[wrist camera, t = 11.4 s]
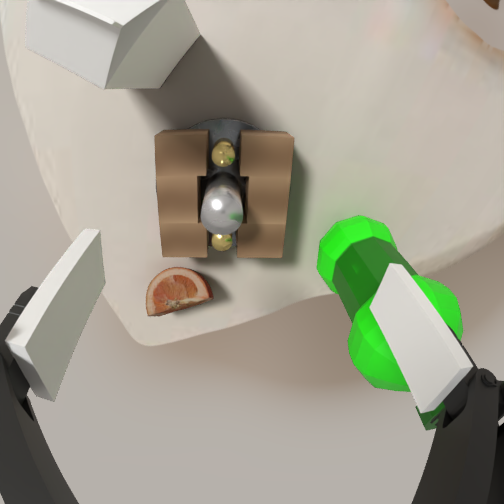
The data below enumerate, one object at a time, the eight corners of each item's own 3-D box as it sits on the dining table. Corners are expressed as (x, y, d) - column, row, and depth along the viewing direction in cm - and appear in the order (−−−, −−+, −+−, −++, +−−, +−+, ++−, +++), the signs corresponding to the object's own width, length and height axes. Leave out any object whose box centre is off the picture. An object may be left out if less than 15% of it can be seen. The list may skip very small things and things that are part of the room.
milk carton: (159, 89, 26) (70, 93, 10) (107, 59, 24) (-15, 46, 7) (201, 34, 24) (166, -40, 7) (146, 5, 21) (61, -70, 5)
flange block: (163, 130, 27) (154, 135, 24) (285, 131, 28) (294, 137, 25) (168, 238, 33) (162, 257, 30) (276, 239, 34) (282, 257, 31)
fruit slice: (165, 308, 40) (159, 334, 36) (140, 270, 37) (131, 294, 32) (221, 291, 39) (221, 317, 35) (200, 249, 36) (196, 272, 32)
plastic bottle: (362, 187, 33) (511, 339, 12) (392, 249, 38) (499, 395, 16) (292, 233, 36) (367, 432, 14) (331, 288, 40) (401, 457, 19)
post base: (251, 95, 27) (260, 96, 20) (307, 207, 34) (331, 245, 26) (135, 161, 30) (105, 188, 22) (200, 259, 36) (195, 308, 29)
